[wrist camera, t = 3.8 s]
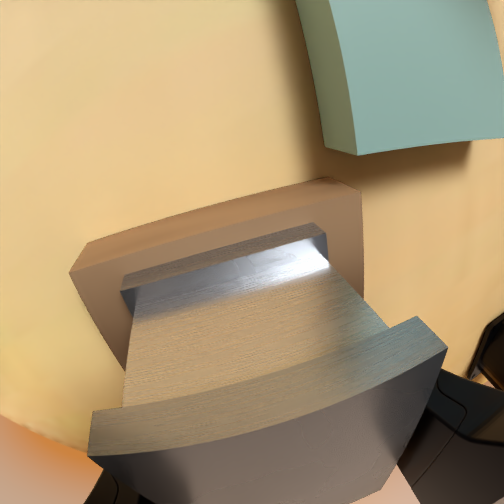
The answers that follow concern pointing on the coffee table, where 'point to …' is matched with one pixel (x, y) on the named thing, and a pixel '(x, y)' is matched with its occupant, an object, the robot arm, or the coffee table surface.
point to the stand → (403, 72)
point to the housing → (262, 380)
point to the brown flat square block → (216, 244)
